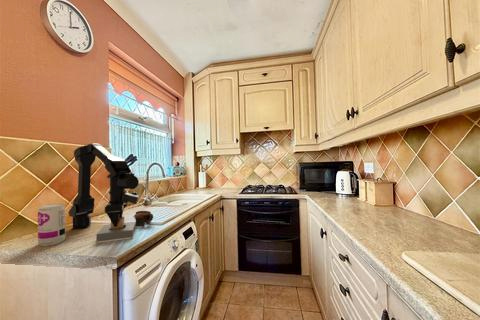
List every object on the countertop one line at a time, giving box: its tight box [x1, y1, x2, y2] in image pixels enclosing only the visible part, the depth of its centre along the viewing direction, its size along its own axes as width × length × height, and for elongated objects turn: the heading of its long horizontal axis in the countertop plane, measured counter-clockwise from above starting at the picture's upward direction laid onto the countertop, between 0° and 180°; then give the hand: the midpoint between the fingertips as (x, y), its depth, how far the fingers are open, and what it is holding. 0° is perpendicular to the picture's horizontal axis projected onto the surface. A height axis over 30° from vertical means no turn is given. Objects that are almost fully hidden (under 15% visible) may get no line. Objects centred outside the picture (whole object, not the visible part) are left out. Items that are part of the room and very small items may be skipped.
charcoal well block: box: [95, 221, 137, 244], centre depth 92 cm, size 13×13×4 cm
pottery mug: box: [132, 210, 154, 228], centre depth 108 cm, size 12×10×8 cm
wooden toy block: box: [110, 216, 125, 230], centre depth 92 cm, size 4×4×7 cm
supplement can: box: [37, 203, 67, 247], centre depth 85 cm, size 8×8×15 cm
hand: (117, 223), depth 92 cm, fingers open, 9 cm apart
